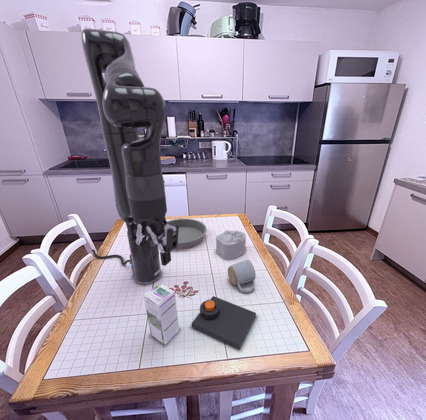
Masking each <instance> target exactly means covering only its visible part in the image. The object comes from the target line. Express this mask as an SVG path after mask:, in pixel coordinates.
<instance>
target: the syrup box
mask: <svg viewBox="0 0 426 420" xmlns="http://www.w3.org/2000/svg"><path fill="white" fill-rule="evenodd" d="M143 300H144V304H145V305H144V306H145V310H146V315H147V320H148V321H147V322H148V326H149V332H150V336H151V337H153V338H154V339H155V340H157V341H158V342H160V343H161V344H162V345H164V346H165V345H167V344H168V343H169V341H170V340H171V339H172V338H173V337H174V336H175V335H176V334H177V333H178V332H179V331H180V326H179V318H178V309H177V308H178V307H177V299H176V292H175V290H173V289H170V288H169V287H168V286H165V285H163V284H162V283H159V284H157V285H156V286H154V287H152V288H151V289H150V290H149V291H147V292H146V293H145V294H144V295H143Z"/></svg>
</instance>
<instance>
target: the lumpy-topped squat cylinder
mask: <svg viewBox="0 0 426 420" xmlns="http://www.w3.org/2000/svg"><path fill="white" fill-rule="evenodd" d="M246 241H247V235H246V234H245V232H243V231H239V230H229V229H226V230H224V231H223V232H222V233H220V234H218V235H216V237H215V252H216V254H217V255H219V256H220V257H221V258H222V259H223V260H228V261H229V260H234V259H237V258H239V257H241V256H243V255H244V254H245V252H246Z"/></svg>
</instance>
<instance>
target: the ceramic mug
mask: <svg viewBox="0 0 426 420" xmlns="http://www.w3.org/2000/svg"><path fill="white" fill-rule="evenodd" d="M227 276H228V279H229V281H230V283H231V284H232V285H233V286H237V287H238V289H239V290H240V291H241V292H242V293H245V294H249V293H251V292H253V291H254V289H255V285H256V284H255V282H256V281H255V280H256V277H257V276H256V270H255V266H254V265H253V263H252V261H251V260H249V259H244V260H242V261H238V262H235V263H234V264H231V265H230V266H228V268H227ZM251 282H252V287H251V289H244V288H243V287H242V286H241V285H244V284H248V283H251Z"/></svg>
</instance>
